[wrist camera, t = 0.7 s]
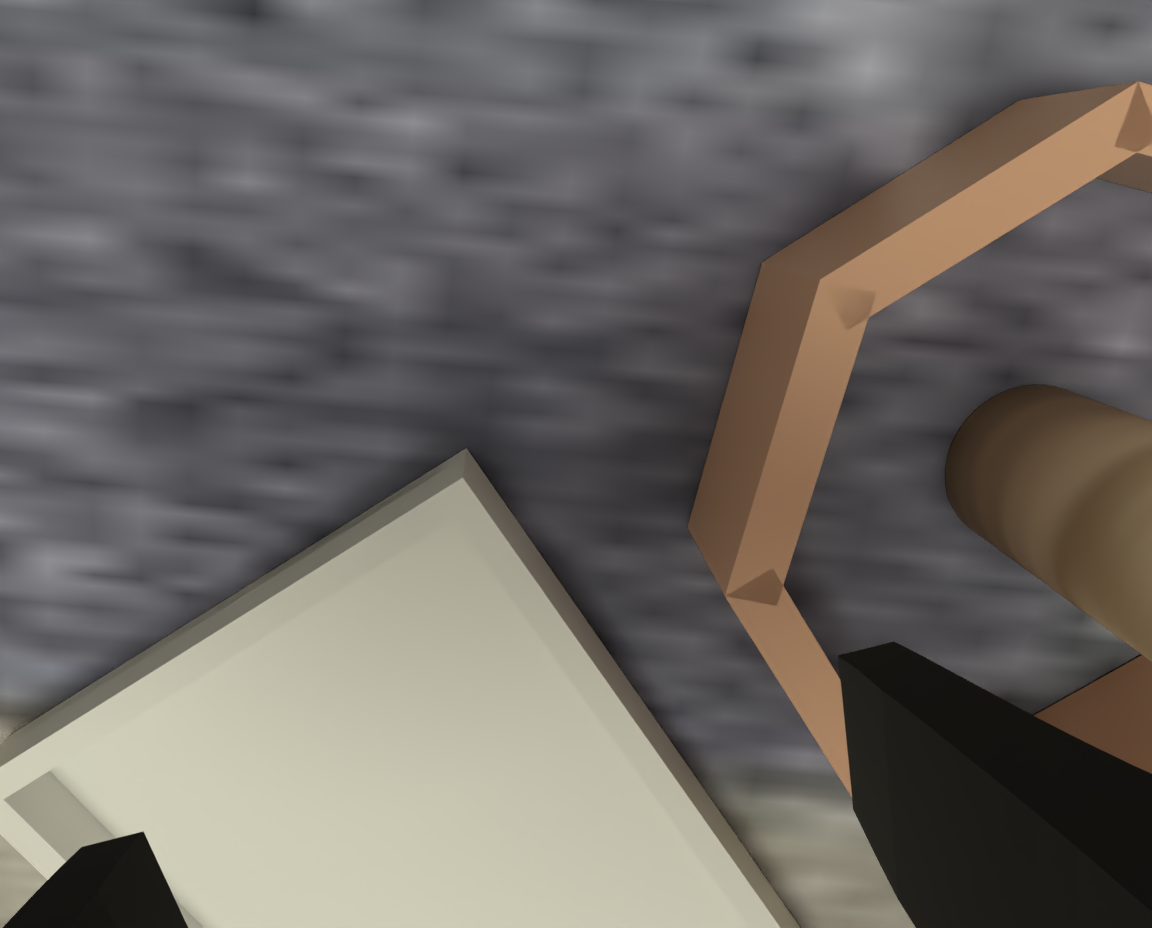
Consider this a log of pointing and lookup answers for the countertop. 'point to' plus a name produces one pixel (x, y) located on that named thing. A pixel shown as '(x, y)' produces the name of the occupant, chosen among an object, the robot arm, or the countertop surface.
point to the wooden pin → (1064, 498)
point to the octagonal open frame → (827, 354)
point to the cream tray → (390, 748)
